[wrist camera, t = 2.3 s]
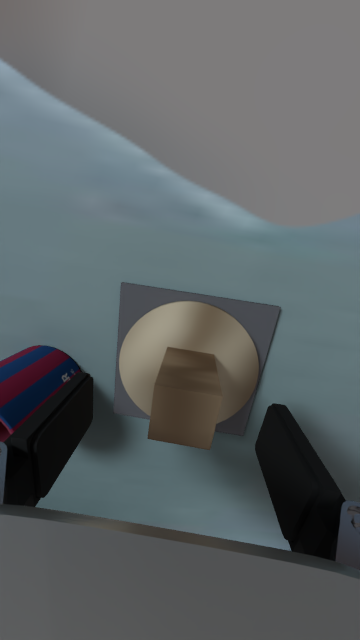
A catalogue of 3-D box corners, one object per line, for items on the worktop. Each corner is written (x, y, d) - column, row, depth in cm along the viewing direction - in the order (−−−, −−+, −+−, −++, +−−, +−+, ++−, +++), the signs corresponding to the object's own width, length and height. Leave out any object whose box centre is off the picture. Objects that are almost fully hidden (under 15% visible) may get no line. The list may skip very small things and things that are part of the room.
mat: (278, 306, 15) (280, 307, 14) (242, 432, 18) (242, 436, 18) (122, 282, 15) (120, 282, 15) (115, 409, 18) (113, 413, 18)
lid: (272, 312, 14) (319, 342, 9) (238, 430, 18) (258, 507, 12) (127, 290, 15) (86, 304, 9) (118, 409, 18) (84, 474, 12)
